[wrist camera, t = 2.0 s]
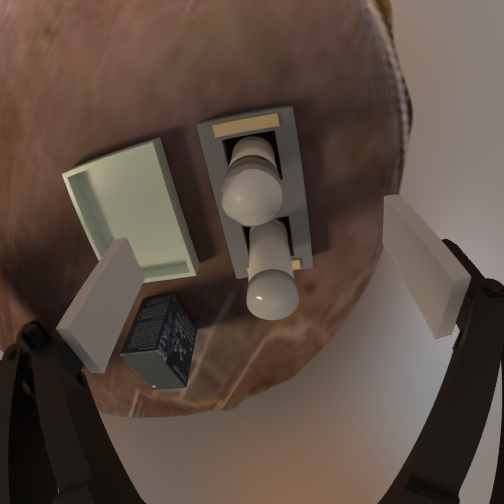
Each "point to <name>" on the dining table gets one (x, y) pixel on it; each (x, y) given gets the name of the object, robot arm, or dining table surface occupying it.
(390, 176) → the dining table surface
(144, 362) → the box
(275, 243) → the fuse
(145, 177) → the parts tray
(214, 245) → the dining table surface
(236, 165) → the cylinder
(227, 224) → the fuse holder
